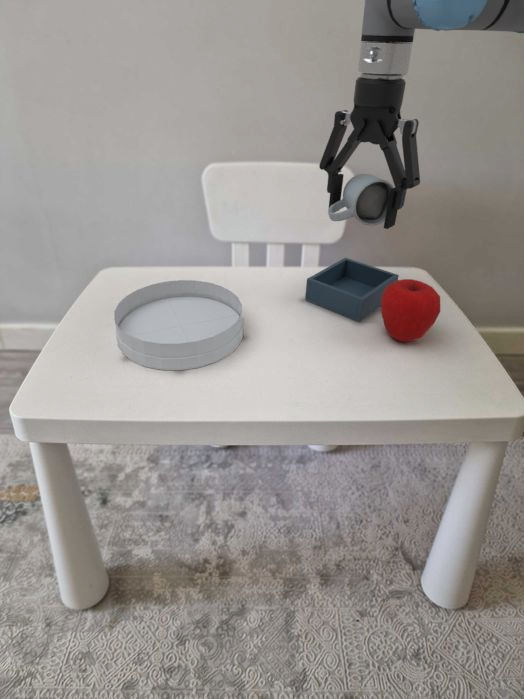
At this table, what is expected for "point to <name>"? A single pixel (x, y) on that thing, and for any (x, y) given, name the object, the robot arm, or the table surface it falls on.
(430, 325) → the apple
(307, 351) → the table surface
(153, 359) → the dish
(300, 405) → the table surface
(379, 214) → the ceramic mug
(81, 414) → the table surface
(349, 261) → the tub
